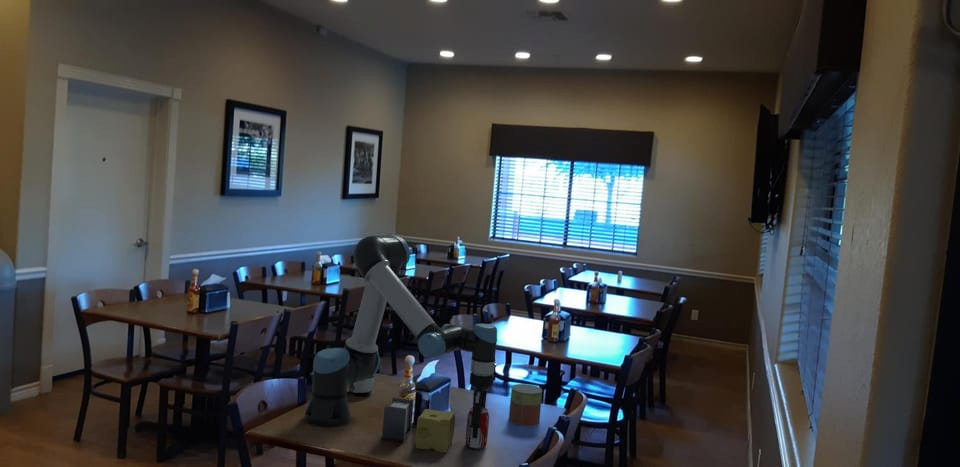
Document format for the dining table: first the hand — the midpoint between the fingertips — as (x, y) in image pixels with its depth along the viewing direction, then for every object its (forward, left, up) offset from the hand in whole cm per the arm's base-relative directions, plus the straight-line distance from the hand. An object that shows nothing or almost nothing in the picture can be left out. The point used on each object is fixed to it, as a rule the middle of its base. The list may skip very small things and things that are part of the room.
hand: (476, 442), depth 222 cm
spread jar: (-53, +36, -1) cm, 64 cm away
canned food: (+13, +30, -1) cm, 33 cm away
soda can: (0, 0, -1) cm, 1 cm away
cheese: (-13, -4, -1) cm, 14 cm away
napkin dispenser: (-26, -1, -1) cm, 26 cm away
